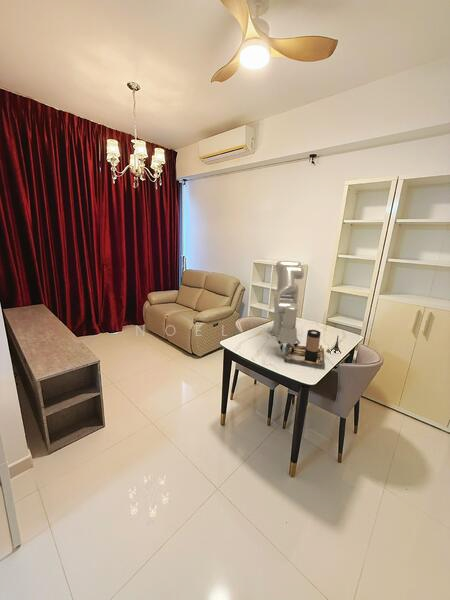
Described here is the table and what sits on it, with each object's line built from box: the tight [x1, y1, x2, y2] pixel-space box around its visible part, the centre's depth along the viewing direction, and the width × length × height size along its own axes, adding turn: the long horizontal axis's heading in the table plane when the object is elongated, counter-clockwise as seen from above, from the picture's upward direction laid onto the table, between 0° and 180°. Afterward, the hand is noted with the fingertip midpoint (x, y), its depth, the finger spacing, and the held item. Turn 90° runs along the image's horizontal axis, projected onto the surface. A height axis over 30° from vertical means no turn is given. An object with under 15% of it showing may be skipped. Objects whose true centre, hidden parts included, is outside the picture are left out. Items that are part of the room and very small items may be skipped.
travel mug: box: [304, 329, 322, 363], centre depth 151 cm, size 8×8×20 cm
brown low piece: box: [283, 343, 323, 366], centre depth 154 cm, size 22×12×8 cm, turn 70°
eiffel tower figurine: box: [325, 335, 342, 355], centre depth 168 cm, size 15×10×13 cm
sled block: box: [286, 343, 323, 355], centre depth 166 cm, size 22×9×8 cm, turn 70°
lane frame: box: [283, 347, 326, 371], centre depth 160 cm, size 24×26×2 cm
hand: (286, 351), depth 158 cm, fingers open, 5 cm apart
